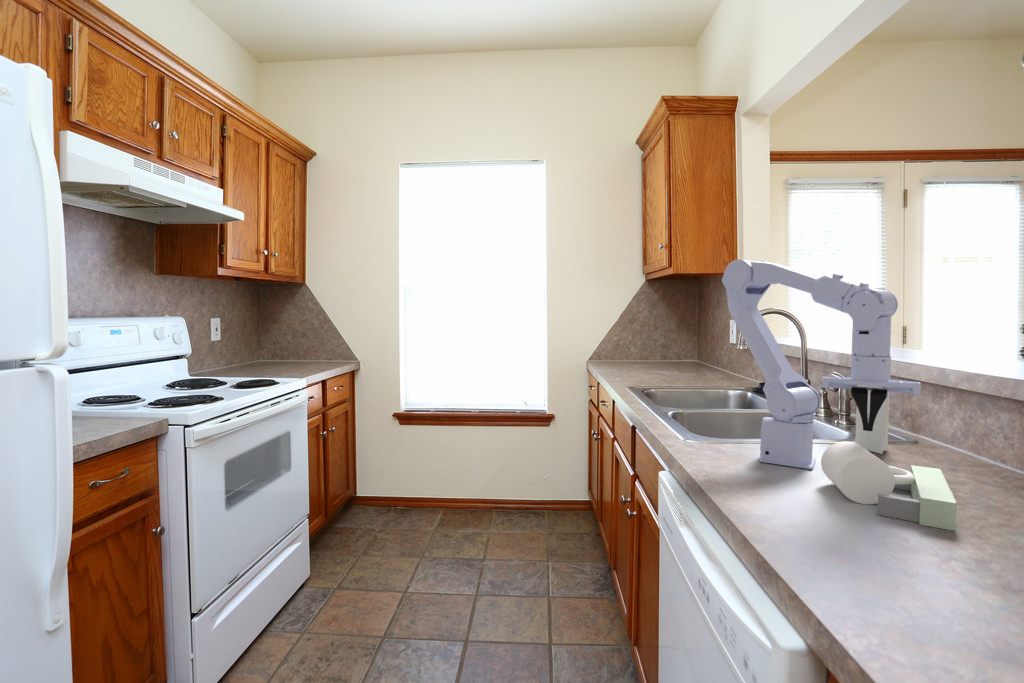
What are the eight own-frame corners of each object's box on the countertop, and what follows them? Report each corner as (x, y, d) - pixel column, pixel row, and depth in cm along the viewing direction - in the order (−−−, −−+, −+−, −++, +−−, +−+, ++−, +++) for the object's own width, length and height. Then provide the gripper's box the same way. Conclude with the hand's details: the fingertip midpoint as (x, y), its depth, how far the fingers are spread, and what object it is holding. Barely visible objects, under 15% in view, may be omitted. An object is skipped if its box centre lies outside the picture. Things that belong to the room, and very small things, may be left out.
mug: (837, 502, 84) (839, 454, 84) (819, 482, 94) (821, 439, 94) (924, 510, 81) (926, 460, 81) (897, 489, 91) (898, 444, 90)
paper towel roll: (859, 443, 121) (862, 352, 119) (890, 448, 116) (894, 354, 115) (850, 449, 116) (853, 354, 115) (882, 455, 111) (886, 356, 110)
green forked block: (877, 516, 78) (878, 491, 78) (875, 482, 94) (876, 460, 94) (955, 530, 73) (956, 503, 73) (939, 491, 89) (940, 468, 89)
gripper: (821, 355, 94) (819, 428, 95) (923, 359, 86) (919, 439, 87) (825, 352, 100) (823, 422, 101) (920, 356, 92) (917, 431, 92)
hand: (867, 429), depth 94 cm, fingers closed
